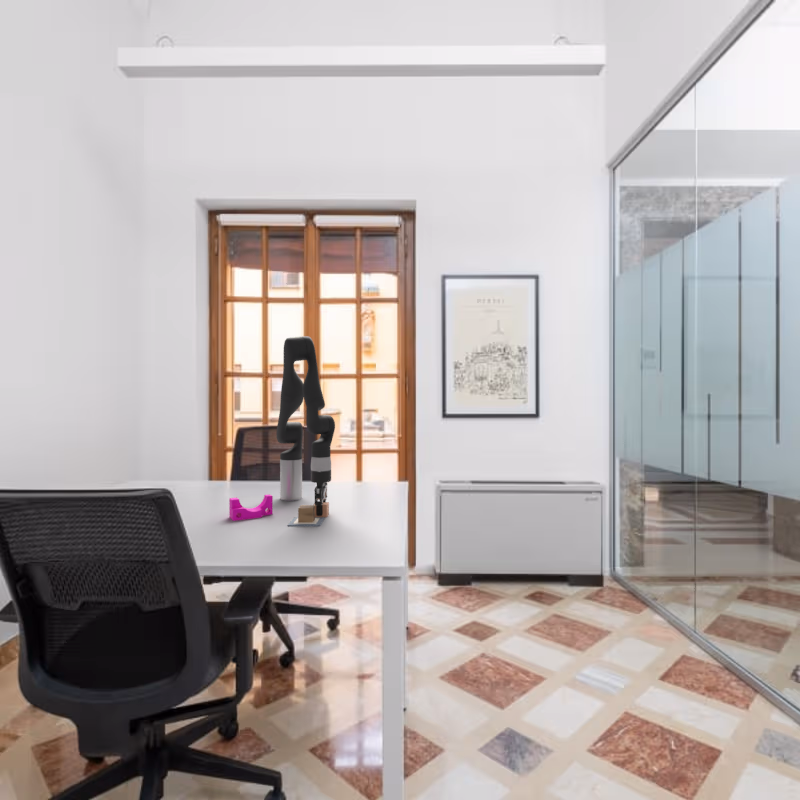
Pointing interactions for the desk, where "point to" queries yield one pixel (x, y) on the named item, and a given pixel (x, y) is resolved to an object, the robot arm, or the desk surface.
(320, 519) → the blue bordered cream board
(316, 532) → the desk surface
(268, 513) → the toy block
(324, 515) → the terracotta cube
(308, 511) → the walnut cube
